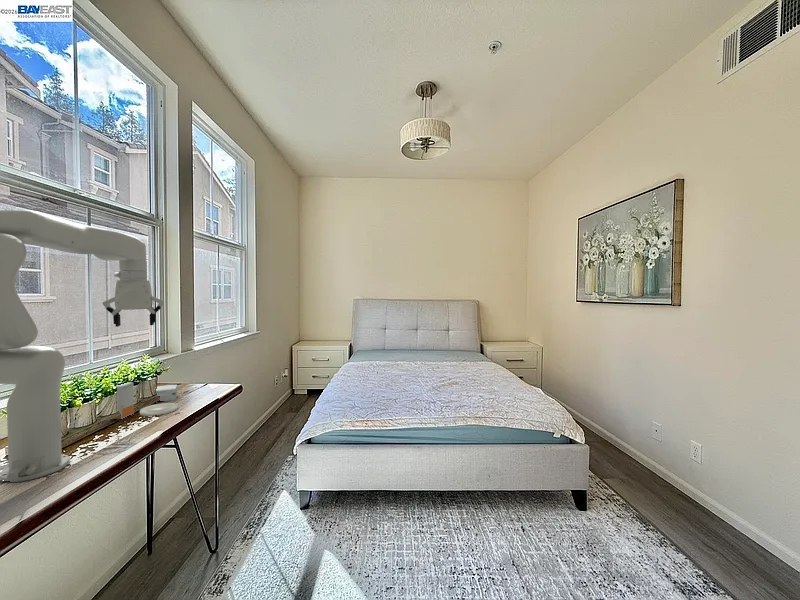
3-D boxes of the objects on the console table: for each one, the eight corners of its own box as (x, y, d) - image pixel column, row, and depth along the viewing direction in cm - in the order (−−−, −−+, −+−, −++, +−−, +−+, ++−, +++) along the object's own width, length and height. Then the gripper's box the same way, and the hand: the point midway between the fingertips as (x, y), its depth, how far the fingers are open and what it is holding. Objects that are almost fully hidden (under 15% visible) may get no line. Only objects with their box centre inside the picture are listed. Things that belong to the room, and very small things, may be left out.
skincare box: (121, 420, 126) (120, 386, 125) (109, 420, 126) (108, 386, 125) (134, 414, 132) (133, 382, 131) (122, 414, 132) (122, 381, 132)
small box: (153, 403, 145) (153, 390, 145) (156, 398, 152) (156, 385, 152) (175, 400, 149) (175, 388, 148) (177, 395, 156) (177, 383, 155)
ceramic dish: (177, 413, 134) (177, 410, 134) (137, 418, 128) (137, 415, 128) (178, 403, 144) (178, 401, 144) (142, 408, 138) (142, 405, 138)
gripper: (98, 276, 117) (100, 328, 118) (161, 276, 124) (163, 325, 125) (105, 276, 124) (107, 325, 125) (164, 276, 131) (166, 323, 132)
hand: (135, 325), depth 125 cm, fingers open, 9 cm apart
